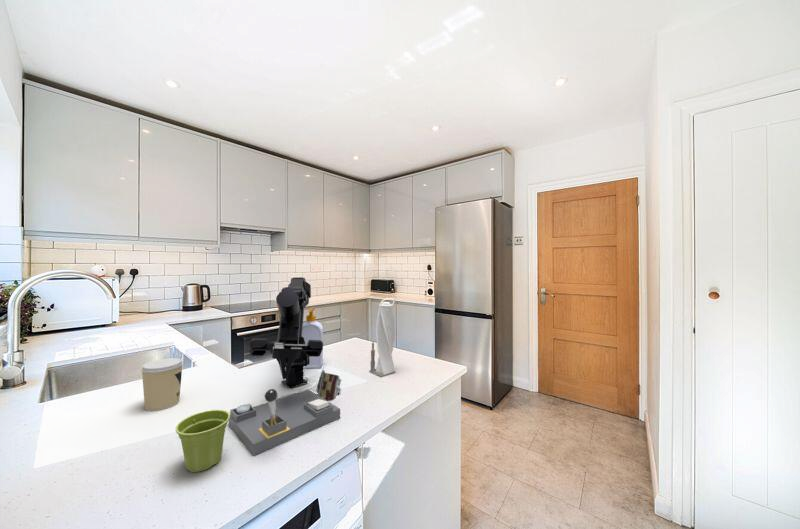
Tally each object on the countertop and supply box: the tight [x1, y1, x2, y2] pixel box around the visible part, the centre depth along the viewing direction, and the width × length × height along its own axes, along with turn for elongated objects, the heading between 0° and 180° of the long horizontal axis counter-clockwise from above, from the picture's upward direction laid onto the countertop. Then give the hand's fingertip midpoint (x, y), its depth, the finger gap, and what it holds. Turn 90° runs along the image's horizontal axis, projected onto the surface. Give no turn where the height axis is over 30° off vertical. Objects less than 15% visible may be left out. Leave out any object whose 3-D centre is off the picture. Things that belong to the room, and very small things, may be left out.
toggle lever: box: [264, 388, 278, 426], centre depth 67 cm, size 3×3×11 cm
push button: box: [236, 403, 251, 415], centre depth 75 cm, size 3×3×1 cm
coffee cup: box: [140, 357, 184, 412], centre depth 86 cm, size 9×9×12 cm
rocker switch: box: [308, 399, 330, 410], centre depth 79 cm, size 5×3×1 cm, turn 46°
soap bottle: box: [302, 308, 324, 370], centre depth 118 cm, size 9×7×23 cm
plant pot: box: [175, 409, 230, 473], centre depth 61 cm, size 9×9×9 cm
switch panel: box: [227, 388, 341, 456], centre depth 77 cm, size 17×22×4 cm
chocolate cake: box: [316, 369, 342, 401], centre depth 95 cm, size 10×7×12 cm
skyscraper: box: [368, 297, 397, 378], centre depth 113 cm, size 8×8×28 cm
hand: (284, 378), depth 78 cm, fingers closed
